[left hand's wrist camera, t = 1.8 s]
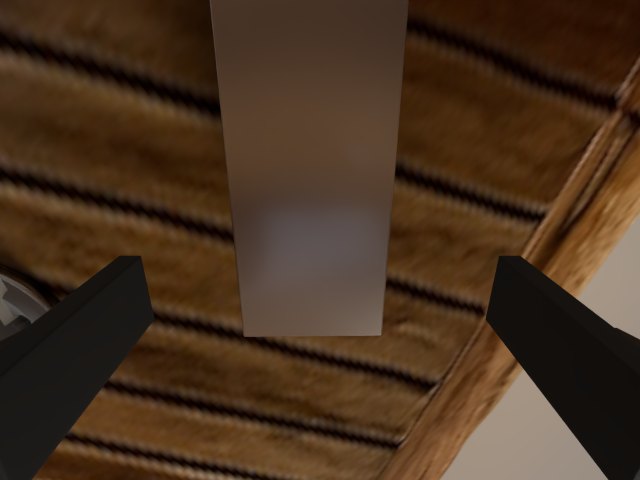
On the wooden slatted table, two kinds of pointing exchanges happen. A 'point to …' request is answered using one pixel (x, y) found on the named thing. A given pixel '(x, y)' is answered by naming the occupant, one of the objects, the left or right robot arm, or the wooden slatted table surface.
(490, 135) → the wooden slatted table surface
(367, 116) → the box
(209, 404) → the wooden slatted table surface
